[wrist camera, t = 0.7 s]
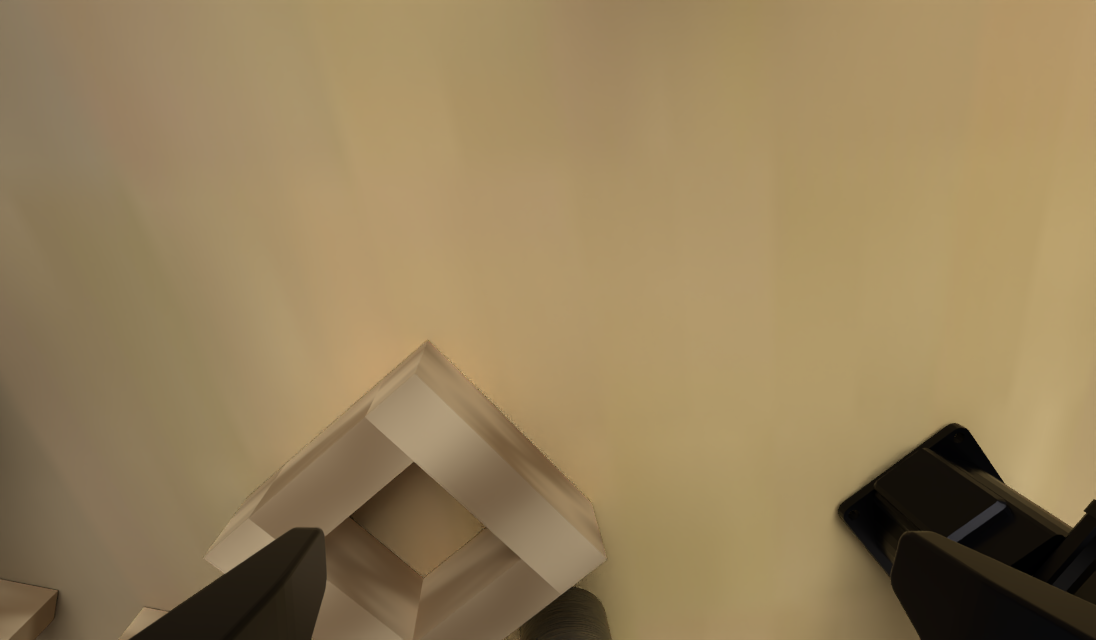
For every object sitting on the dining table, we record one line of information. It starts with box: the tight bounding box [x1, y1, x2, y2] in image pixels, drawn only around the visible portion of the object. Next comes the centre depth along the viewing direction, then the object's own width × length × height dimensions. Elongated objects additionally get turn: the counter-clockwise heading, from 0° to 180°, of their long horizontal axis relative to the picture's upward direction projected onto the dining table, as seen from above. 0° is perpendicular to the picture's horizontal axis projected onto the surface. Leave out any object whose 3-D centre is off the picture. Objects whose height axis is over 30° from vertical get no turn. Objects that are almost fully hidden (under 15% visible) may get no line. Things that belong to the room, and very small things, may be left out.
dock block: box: [203, 340, 607, 640], centre depth 22 cm, size 10×10×4 cm
